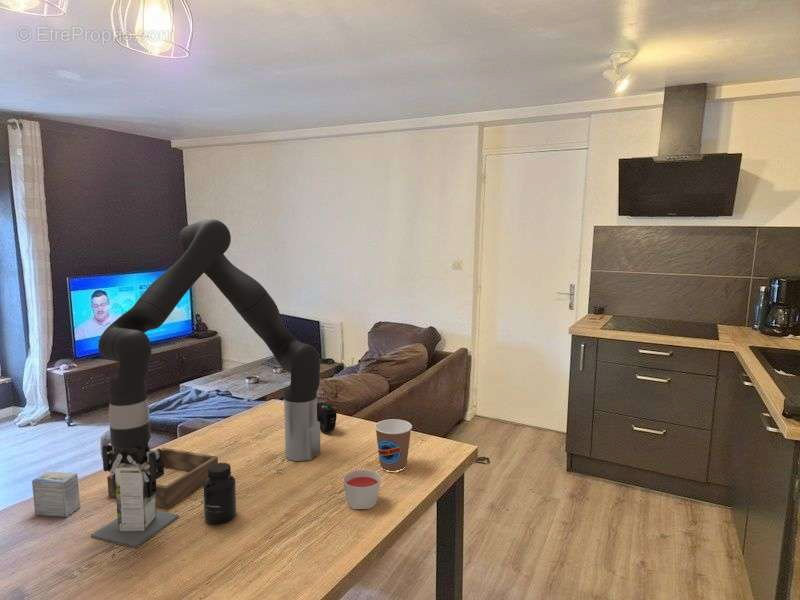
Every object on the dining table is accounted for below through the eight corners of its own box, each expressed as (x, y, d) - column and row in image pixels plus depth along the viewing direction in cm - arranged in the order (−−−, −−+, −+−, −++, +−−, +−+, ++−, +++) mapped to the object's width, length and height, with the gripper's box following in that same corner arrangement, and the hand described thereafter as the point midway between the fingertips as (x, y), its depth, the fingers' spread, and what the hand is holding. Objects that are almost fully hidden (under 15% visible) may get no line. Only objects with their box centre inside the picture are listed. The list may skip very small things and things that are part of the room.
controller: (326, 438, 157) (326, 407, 156) (311, 425, 168) (311, 397, 166) (339, 435, 160) (338, 405, 158) (323, 423, 170) (323, 395, 169)
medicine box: (81, 507, 116) (78, 472, 115) (66, 518, 112) (63, 481, 111) (50, 505, 117) (47, 470, 116) (34, 516, 113) (31, 480, 112)
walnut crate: (218, 474, 133) (217, 456, 132) (167, 508, 116) (166, 488, 115) (164, 464, 138) (163, 447, 138) (108, 496, 121) (107, 476, 121)
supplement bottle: (206, 529, 108) (204, 476, 106) (202, 513, 114) (200, 464, 112) (239, 521, 111) (237, 470, 109) (234, 506, 117) (232, 458, 116)
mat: (178, 517, 112) (178, 515, 112) (135, 548, 101) (135, 545, 101) (137, 508, 116) (137, 506, 116) (91, 537, 105) (90, 534, 105)
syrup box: (131, 517, 111) (127, 455, 110) (157, 517, 111) (154, 455, 110) (117, 532, 106) (113, 467, 104) (145, 531, 106) (141, 467, 104)
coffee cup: (368, 472, 135) (368, 429, 133) (383, 456, 144) (383, 417, 143) (403, 479, 131) (403, 435, 129) (417, 462, 140) (417, 422, 139)
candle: (364, 489, 125) (364, 465, 124) (388, 503, 119) (388, 478, 118) (335, 502, 119) (335, 477, 118) (359, 517, 112) (359, 491, 112)
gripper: (170, 418, 107) (174, 489, 109) (118, 411, 111) (123, 480, 113) (142, 431, 100) (147, 507, 102) (88, 423, 104) (94, 496, 106)
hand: (134, 492), depth 108 cm, fingers open, 8 cm apart
